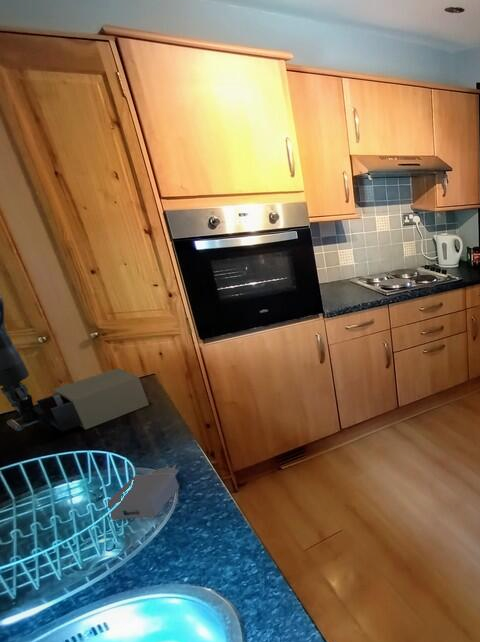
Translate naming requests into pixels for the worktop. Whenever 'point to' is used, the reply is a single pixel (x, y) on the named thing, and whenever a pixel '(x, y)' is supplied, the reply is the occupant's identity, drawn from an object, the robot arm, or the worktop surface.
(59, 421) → the dark drawer with handle
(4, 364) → the robot arm
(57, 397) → the orange lobed block
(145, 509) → the charger
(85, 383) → the grey sloped box
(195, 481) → the worktop surface
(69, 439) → the worktop surface
